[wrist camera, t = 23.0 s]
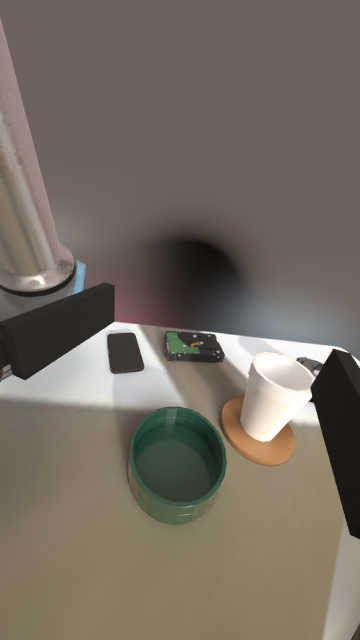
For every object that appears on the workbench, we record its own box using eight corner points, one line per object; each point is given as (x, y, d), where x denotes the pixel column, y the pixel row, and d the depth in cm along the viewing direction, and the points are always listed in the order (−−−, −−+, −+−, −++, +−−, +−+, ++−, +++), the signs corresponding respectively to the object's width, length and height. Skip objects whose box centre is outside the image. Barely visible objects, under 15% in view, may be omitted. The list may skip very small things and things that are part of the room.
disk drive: (212, 341, 64) (163, 338, 61) (214, 333, 62) (165, 330, 60) (223, 363, 55) (166, 361, 52) (225, 355, 54) (168, 352, 51)
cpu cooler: (353, 395, 42) (299, 378, 45) (339, 414, 45) (289, 397, 47) (336, 365, 51) (293, 352, 54) (325, 382, 54) (284, 369, 56)
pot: (130, 426, 36) (131, 408, 34) (205, 422, 38) (210, 405, 36) (124, 533, 24) (126, 515, 22) (232, 516, 27) (242, 499, 25)
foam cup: (266, 402, 44) (290, 352, 38) (295, 447, 36) (332, 392, 30) (224, 405, 41) (242, 352, 35) (245, 453, 33) (274, 395, 27)
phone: (110, 372, 45) (107, 333, 57) (110, 375, 45) (107, 336, 57) (145, 367, 48) (134, 332, 60) (145, 370, 48) (134, 334, 60)
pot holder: (211, 400, 43) (212, 397, 43) (268, 398, 46) (269, 395, 45) (236, 469, 32) (238, 466, 32) (308, 461, 35) (311, 458, 34)
